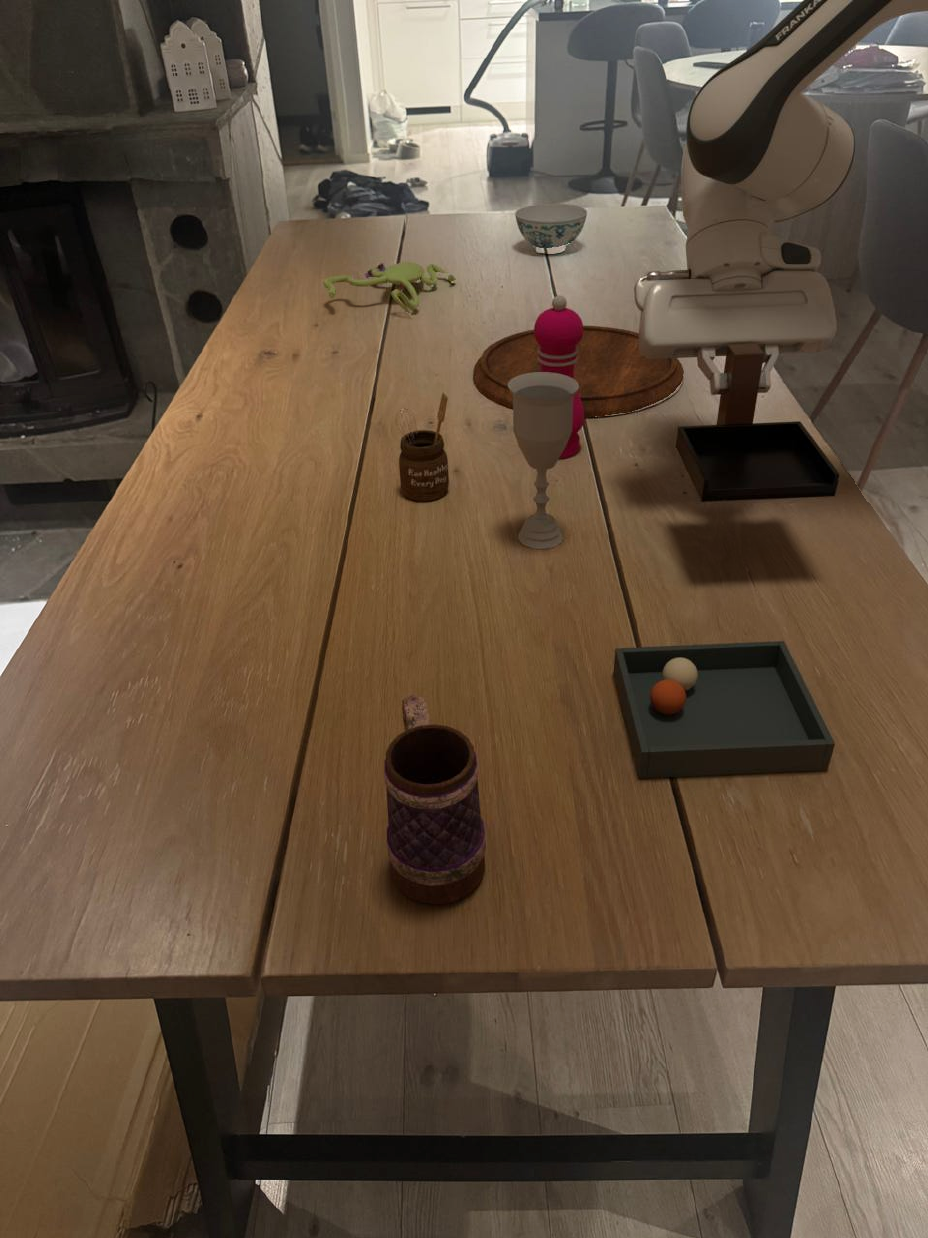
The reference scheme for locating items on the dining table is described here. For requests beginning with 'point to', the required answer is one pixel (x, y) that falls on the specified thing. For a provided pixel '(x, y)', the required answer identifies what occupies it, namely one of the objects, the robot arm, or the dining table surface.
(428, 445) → the utensil holder
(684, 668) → the ball
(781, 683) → the tray
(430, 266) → the figurine
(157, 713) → the dining table surface
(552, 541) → the chalice
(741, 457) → the pan
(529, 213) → the chinaware
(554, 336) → the pepper mill
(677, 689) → the ball
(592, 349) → the cutting board
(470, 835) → the mug
